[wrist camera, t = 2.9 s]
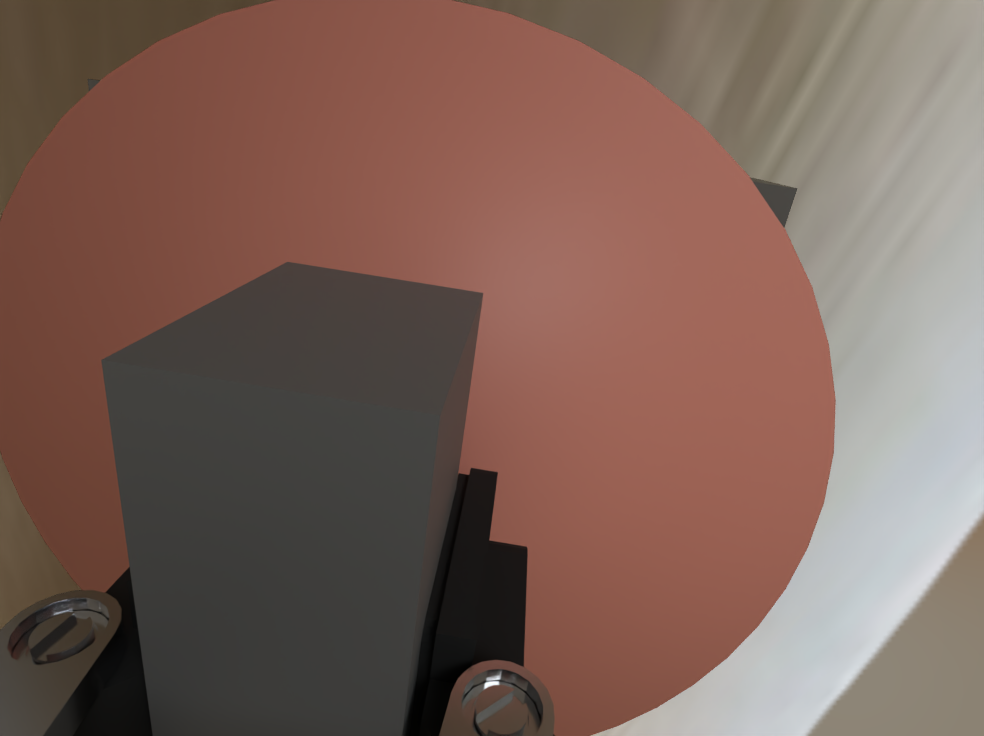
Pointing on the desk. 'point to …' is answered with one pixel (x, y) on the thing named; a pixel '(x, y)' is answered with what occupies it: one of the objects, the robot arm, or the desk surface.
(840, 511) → the desk surface
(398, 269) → the handwheel
